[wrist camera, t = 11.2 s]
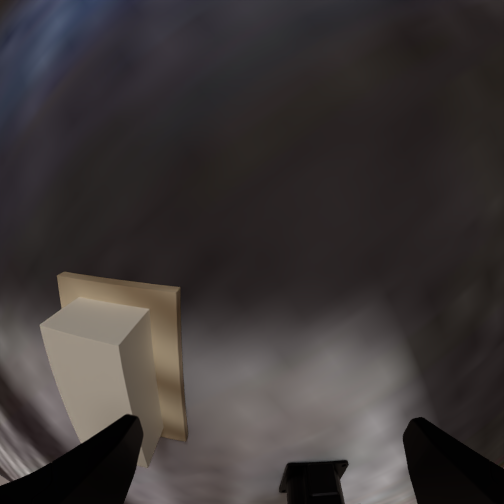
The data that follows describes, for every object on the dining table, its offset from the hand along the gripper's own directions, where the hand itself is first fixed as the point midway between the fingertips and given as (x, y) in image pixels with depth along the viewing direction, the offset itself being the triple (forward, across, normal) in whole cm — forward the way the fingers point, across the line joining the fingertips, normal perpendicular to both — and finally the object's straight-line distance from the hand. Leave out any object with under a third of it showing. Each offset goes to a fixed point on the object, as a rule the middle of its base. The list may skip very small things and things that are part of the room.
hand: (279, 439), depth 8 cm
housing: (+11, +11, +7) cm, 17 cm away
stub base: (+12, +11, +7) cm, 18 cm away
